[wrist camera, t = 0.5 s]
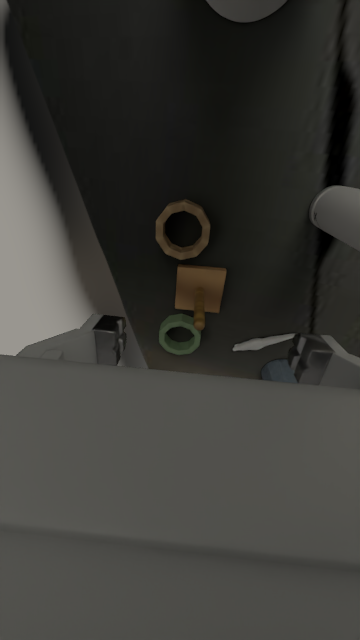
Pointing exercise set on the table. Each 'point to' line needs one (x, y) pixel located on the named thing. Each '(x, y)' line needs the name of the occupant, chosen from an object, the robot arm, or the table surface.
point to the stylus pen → (261, 342)
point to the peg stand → (199, 291)
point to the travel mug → (338, 213)
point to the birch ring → (174, 249)
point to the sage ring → (173, 345)
